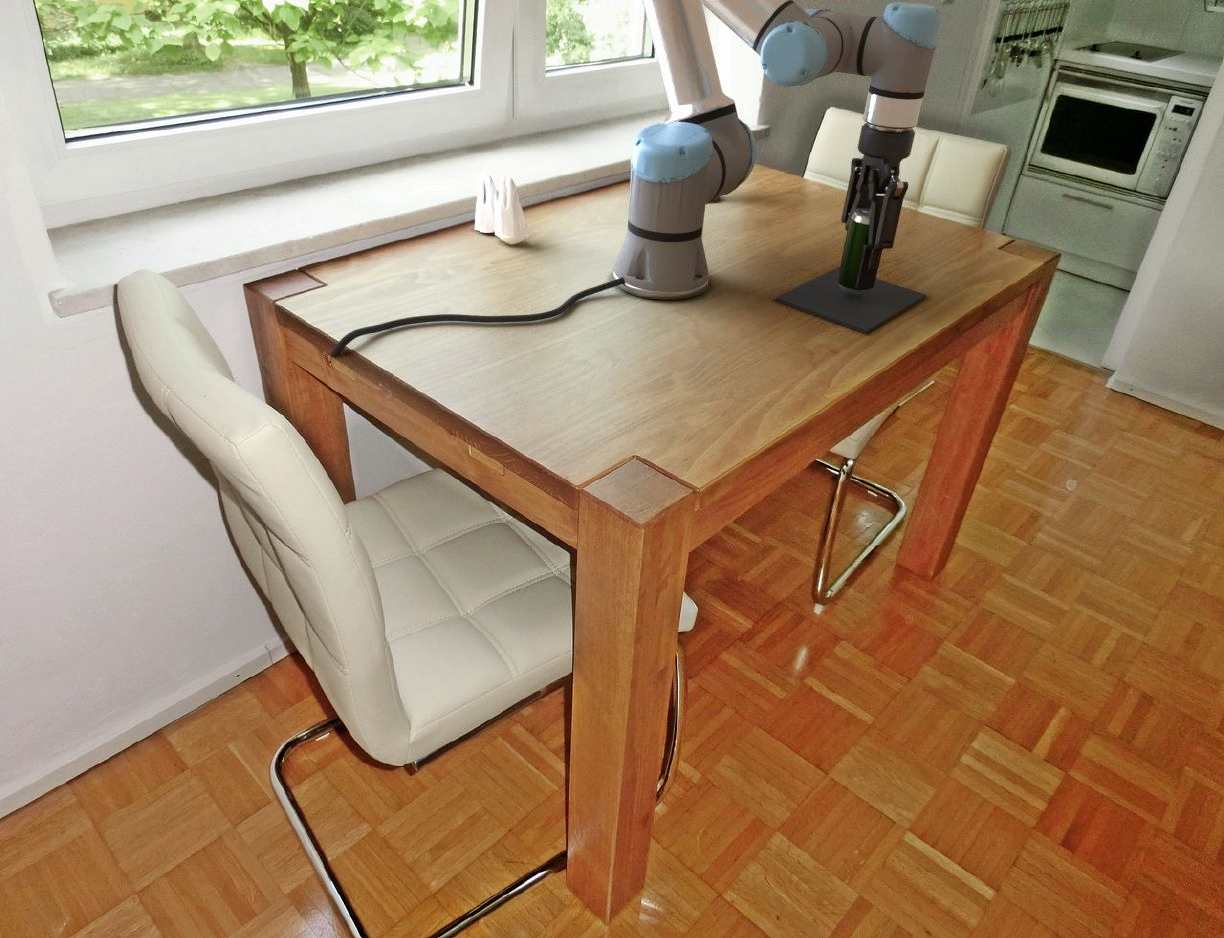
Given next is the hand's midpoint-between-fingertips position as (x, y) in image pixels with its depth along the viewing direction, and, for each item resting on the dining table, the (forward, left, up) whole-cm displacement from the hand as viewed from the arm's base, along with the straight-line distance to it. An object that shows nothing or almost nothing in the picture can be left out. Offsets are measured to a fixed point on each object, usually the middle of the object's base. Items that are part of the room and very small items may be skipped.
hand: (855, 279), depth 140 cm
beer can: (0, 0, -1) cm, 1 cm away
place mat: (0, 0, -3) cm, 3 cm away
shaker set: (-52, +32, -3) cm, 61 cm away
